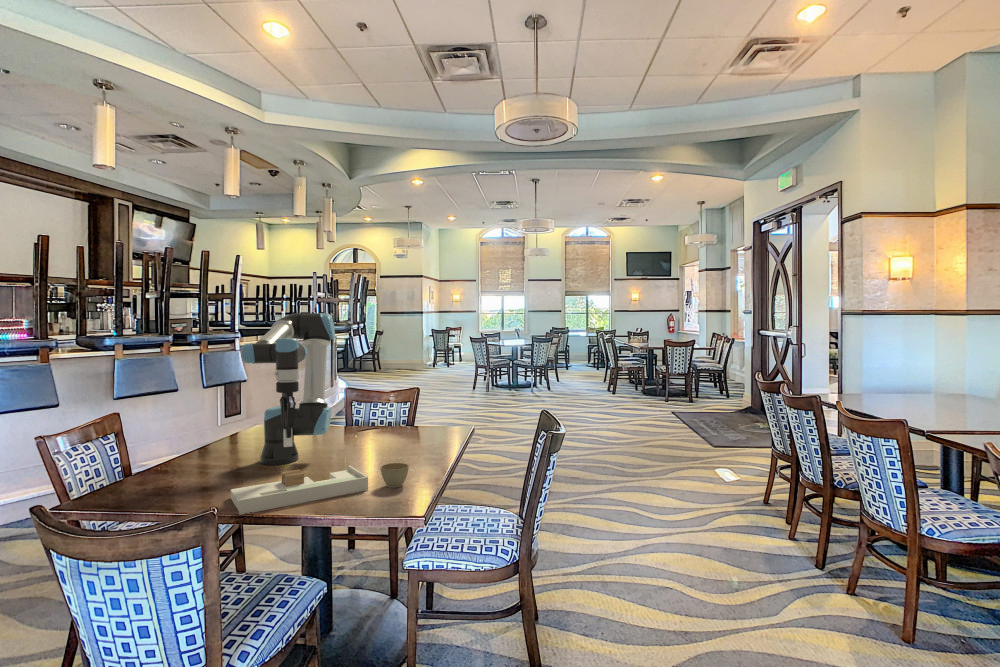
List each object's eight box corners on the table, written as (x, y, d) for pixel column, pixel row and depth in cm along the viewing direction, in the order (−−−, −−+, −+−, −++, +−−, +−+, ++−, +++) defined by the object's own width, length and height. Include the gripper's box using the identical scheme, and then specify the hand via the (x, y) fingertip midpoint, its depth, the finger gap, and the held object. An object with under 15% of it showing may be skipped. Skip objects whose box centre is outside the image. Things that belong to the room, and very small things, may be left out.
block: (281, 482, 185) (281, 472, 185) (299, 479, 188) (299, 469, 188) (285, 486, 180) (285, 476, 180) (304, 483, 183) (304, 473, 183)
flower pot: (413, 483, 193) (413, 463, 193) (400, 491, 183) (399, 471, 183) (389, 480, 196) (389, 461, 196) (375, 488, 187) (374, 468, 187)
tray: (229, 498, 177) (229, 485, 177) (350, 477, 201) (350, 465, 201) (239, 514, 162) (239, 500, 162) (368, 489, 185) (368, 477, 185)
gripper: (272, 380, 194) (272, 444, 194) (280, 383, 184) (281, 451, 184) (293, 379, 198) (294, 441, 199) (303, 381, 188) (303, 448, 188)
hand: (288, 446), depth 191 cm, fingers closed
